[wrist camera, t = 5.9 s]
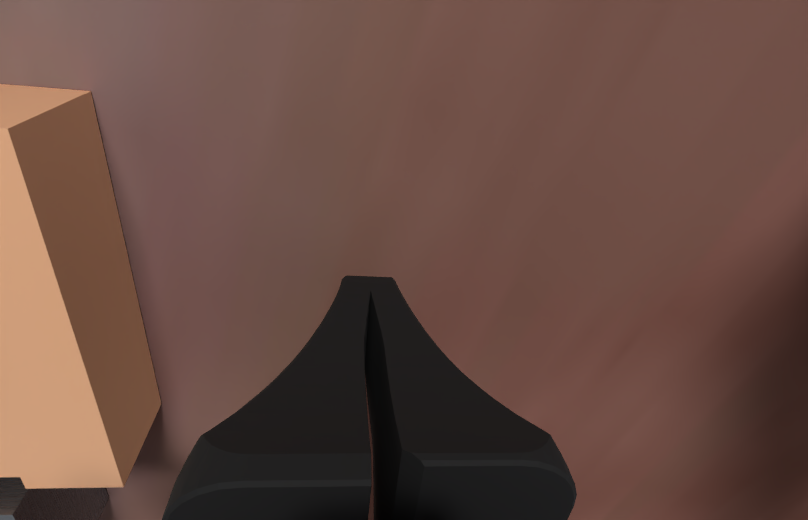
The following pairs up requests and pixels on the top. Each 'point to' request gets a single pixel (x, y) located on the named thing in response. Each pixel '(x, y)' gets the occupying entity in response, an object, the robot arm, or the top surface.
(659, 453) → the top surface
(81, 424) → the clip
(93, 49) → the top surface
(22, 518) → the grey hollow block
